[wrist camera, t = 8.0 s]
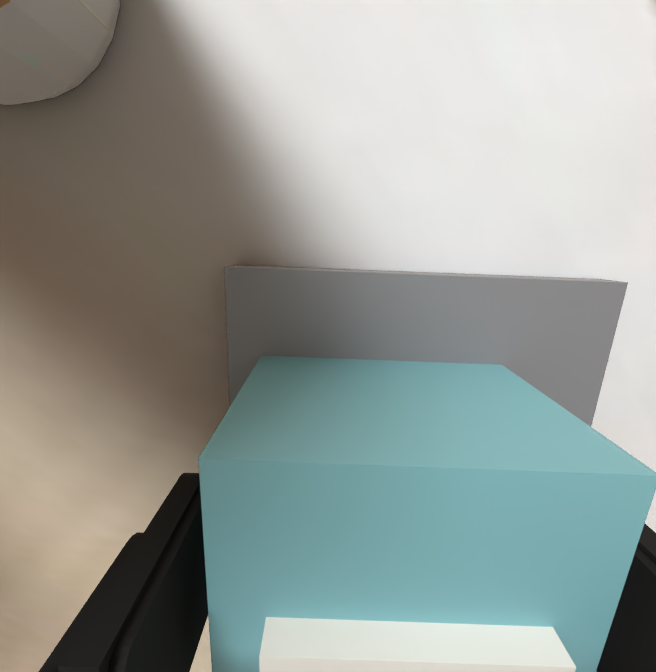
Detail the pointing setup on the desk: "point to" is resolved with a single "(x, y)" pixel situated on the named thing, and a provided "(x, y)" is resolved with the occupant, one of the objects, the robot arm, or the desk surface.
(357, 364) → the teal box
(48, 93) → the coffee cup
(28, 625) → the desk surface
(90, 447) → the desk surface
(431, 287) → the board
